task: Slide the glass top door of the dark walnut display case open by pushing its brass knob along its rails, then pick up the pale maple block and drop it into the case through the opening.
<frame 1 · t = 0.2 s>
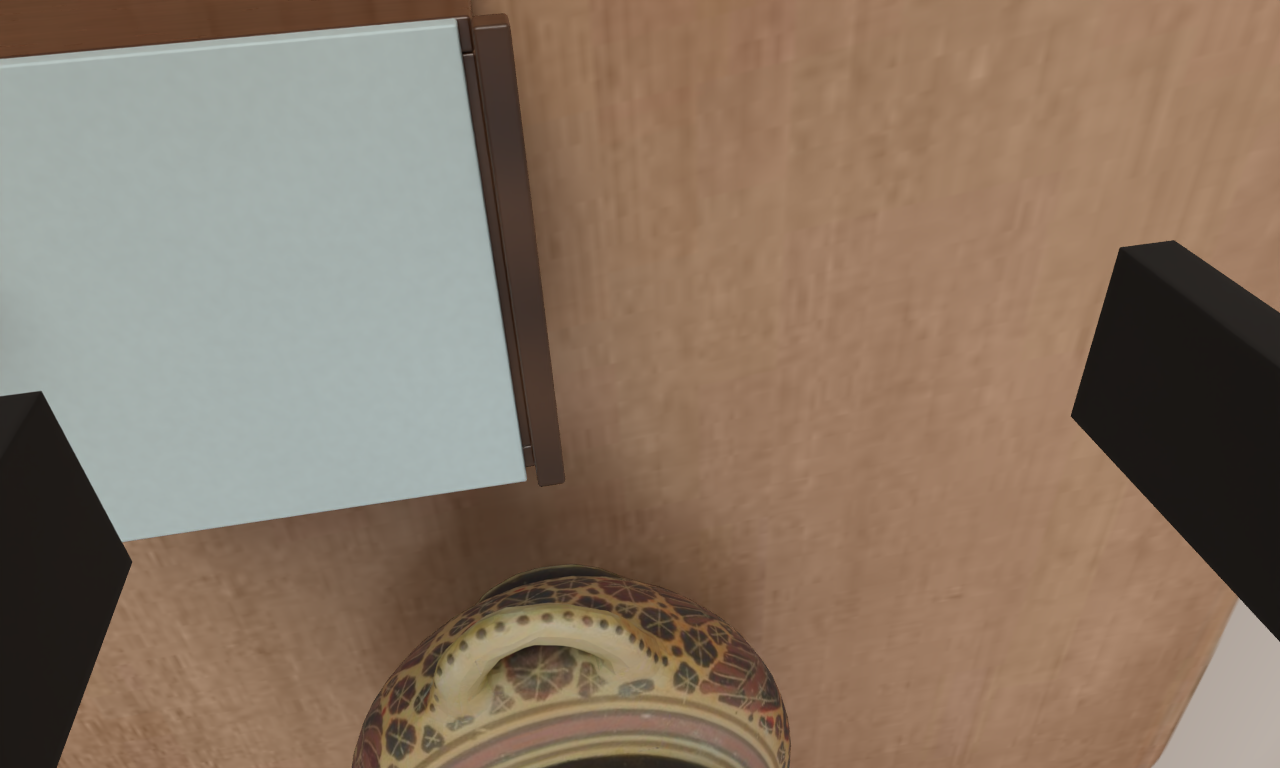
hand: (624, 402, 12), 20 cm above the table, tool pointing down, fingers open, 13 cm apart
glass door: (192, 354, 21), point 10 cm above the table, slide at 0.0 cm
ceramic bowl: (558, 625, 44), on the table
display case: (258, 187, 29), on the table
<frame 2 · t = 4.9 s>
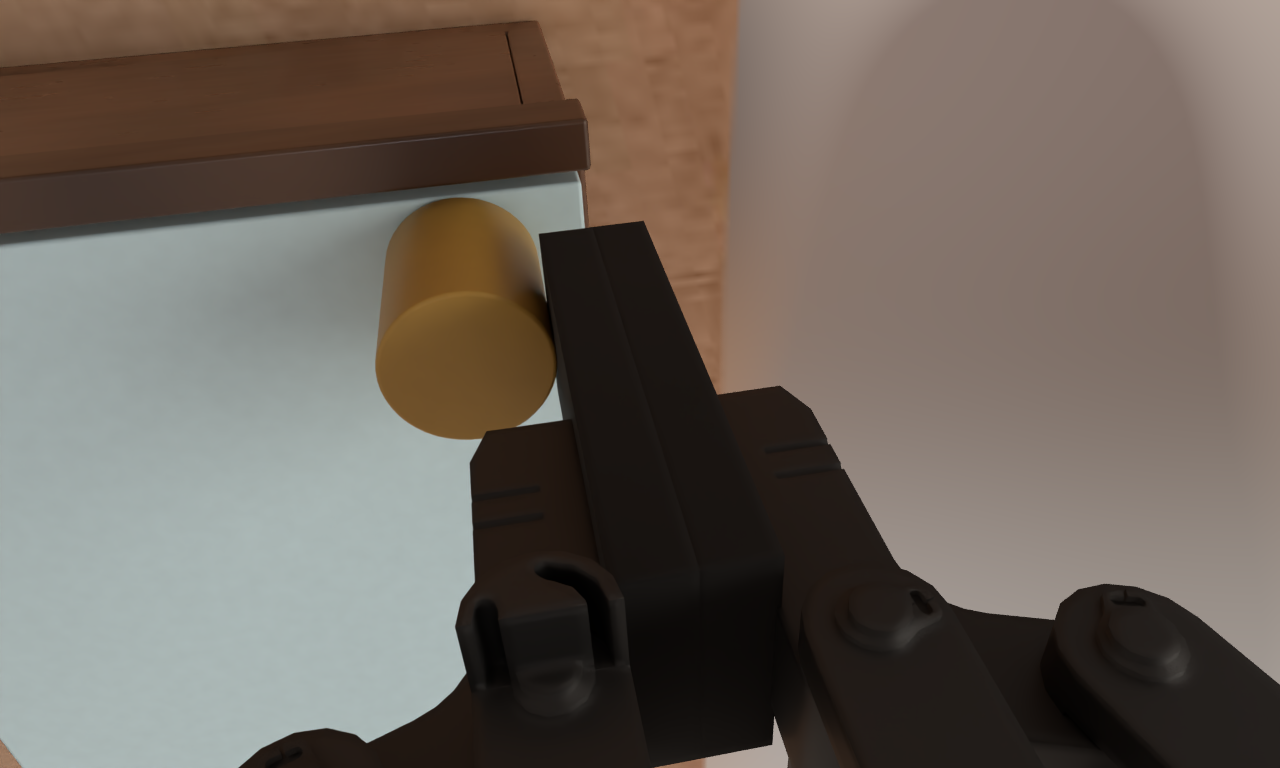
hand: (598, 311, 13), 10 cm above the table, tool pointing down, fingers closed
glass door: (266, 619, 17), point 10 cm above the table, slide at 0.1 cm, touching gripper
display case: (326, 332, 25), on the table
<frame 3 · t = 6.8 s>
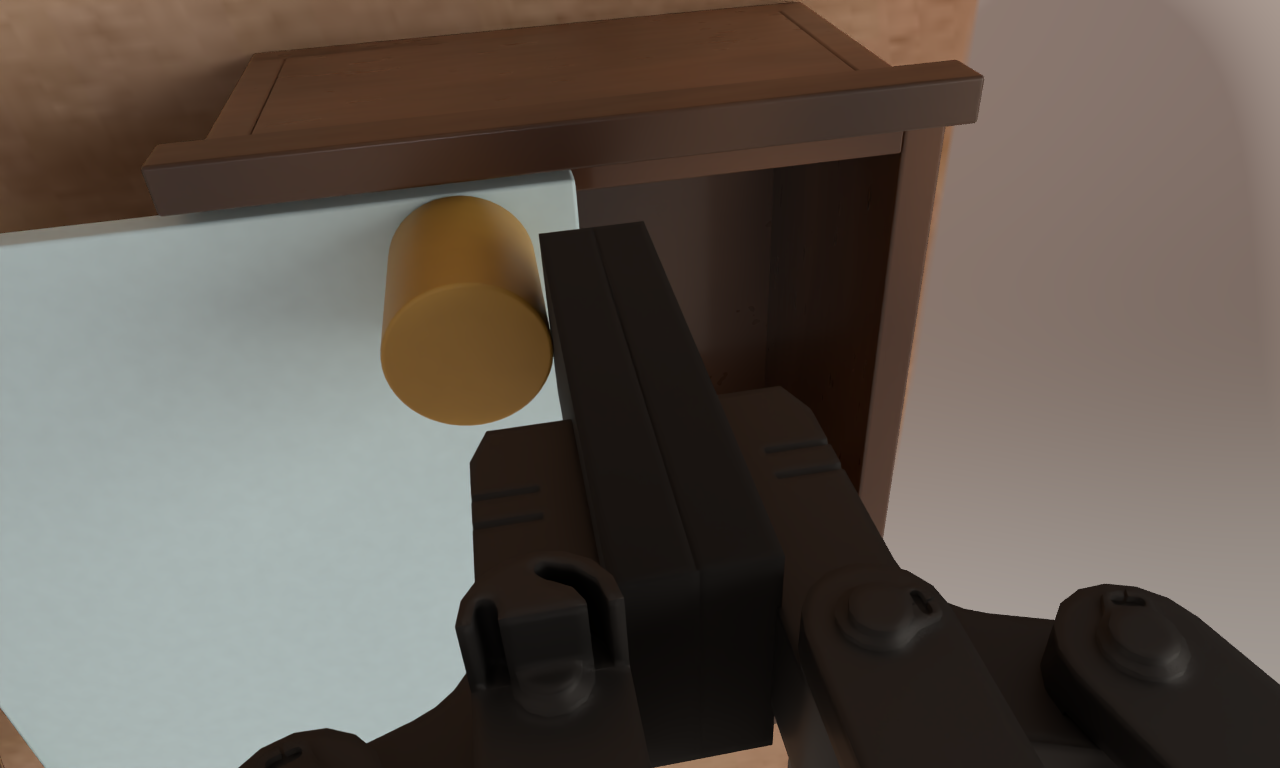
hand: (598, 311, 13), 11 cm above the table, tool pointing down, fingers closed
glass door: (274, 605, 17), point 10 cm above the table, slide at 6.7 cm, touching ceramic bowl, gripper
display case: (566, 300, 26), on the table
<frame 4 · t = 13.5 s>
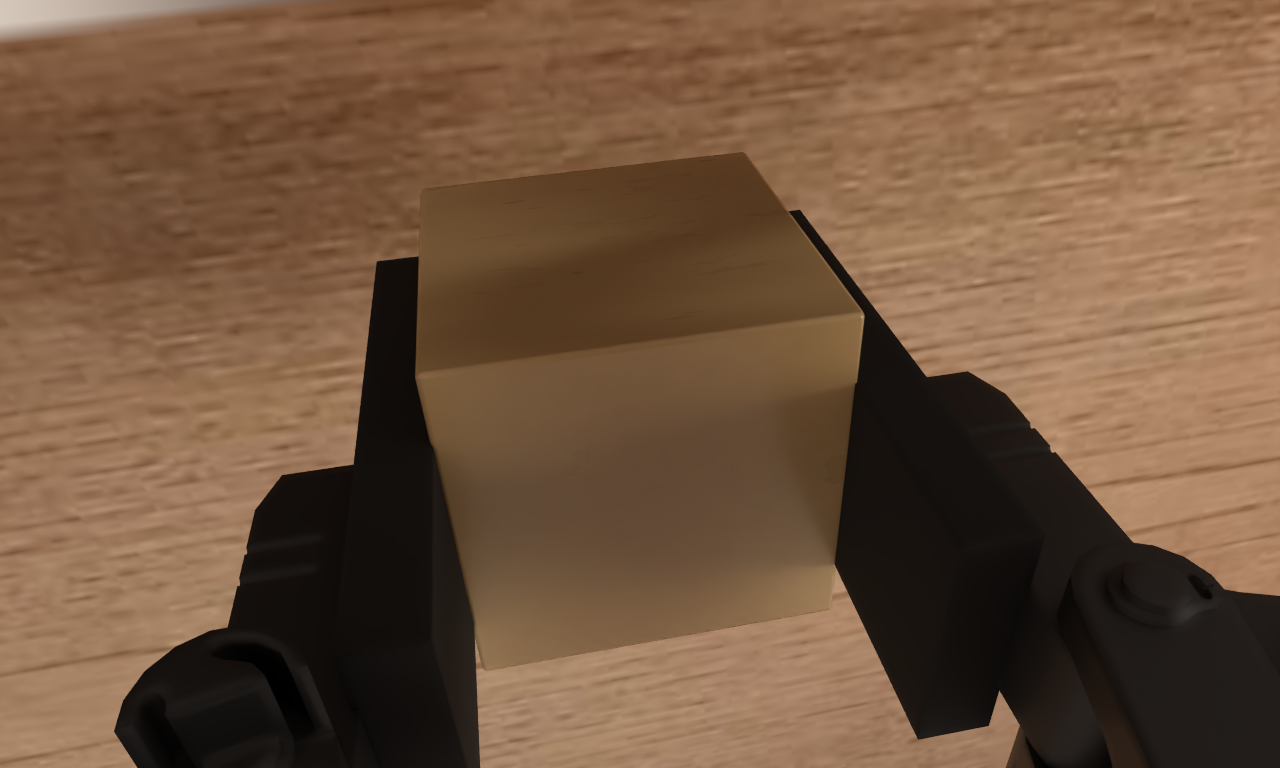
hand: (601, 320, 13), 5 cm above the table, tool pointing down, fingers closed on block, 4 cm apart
block: (598, 309, 14), point 5 cm above the table, touching gripper
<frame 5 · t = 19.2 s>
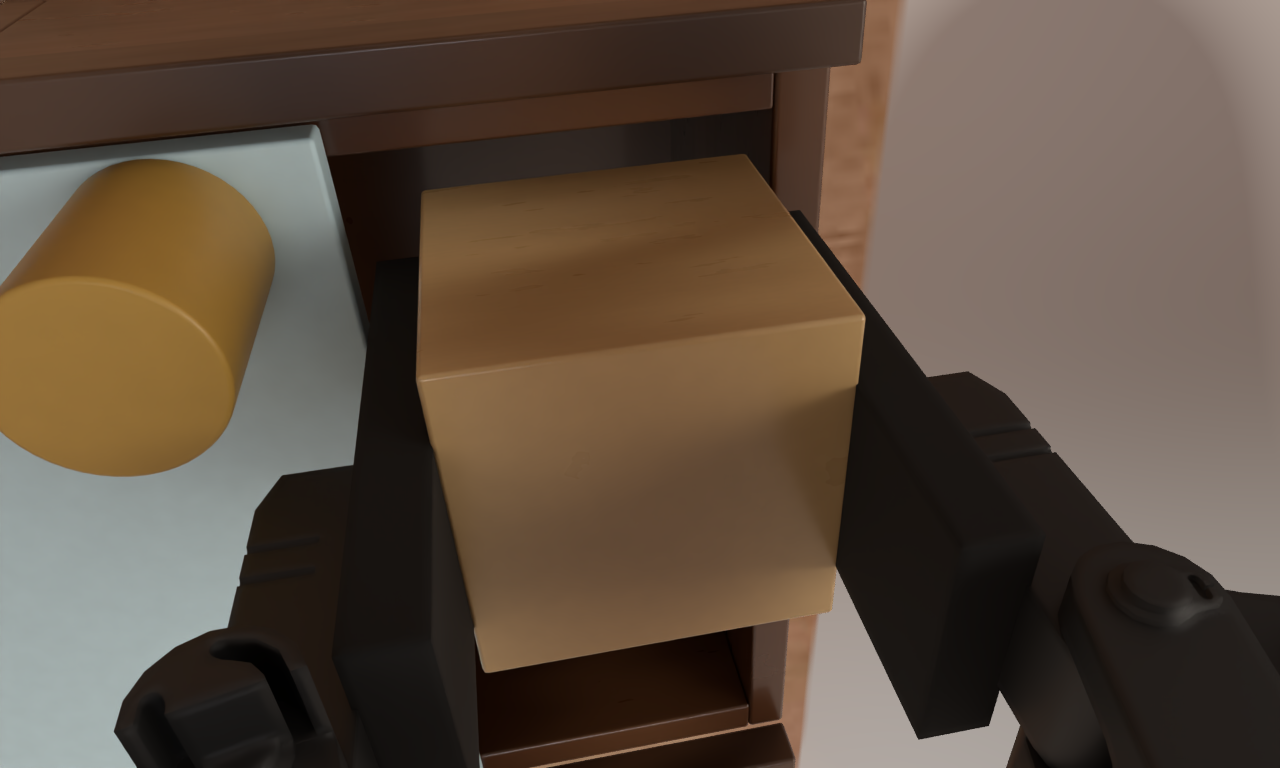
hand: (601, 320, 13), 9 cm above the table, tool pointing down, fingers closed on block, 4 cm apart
block: (598, 310, 14), point 8 cm above the table, touching gripper
display case: (437, 299, 22), on the table
when the fingers open (10 cm above the table, at t = 25.3 s): block drops 9 cm, resting on display case.
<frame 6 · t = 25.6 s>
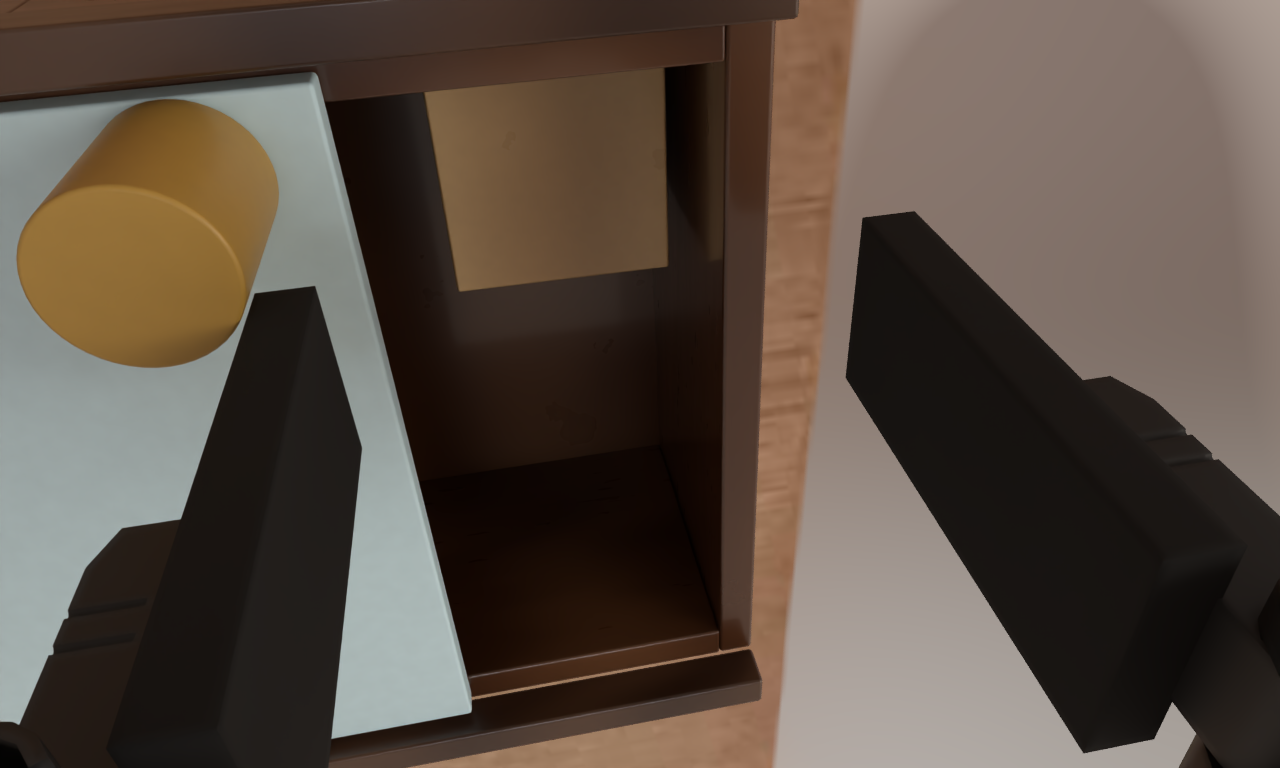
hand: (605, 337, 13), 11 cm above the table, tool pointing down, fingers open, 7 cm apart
block: (534, 105, 21), point 1 cm above the table, touching display case
glass door: (8, 587, 15), point 10 cm above the table, slide at 6.8 cm, touching ceramic bowl, gripper
display case: (429, 258, 24), on the table
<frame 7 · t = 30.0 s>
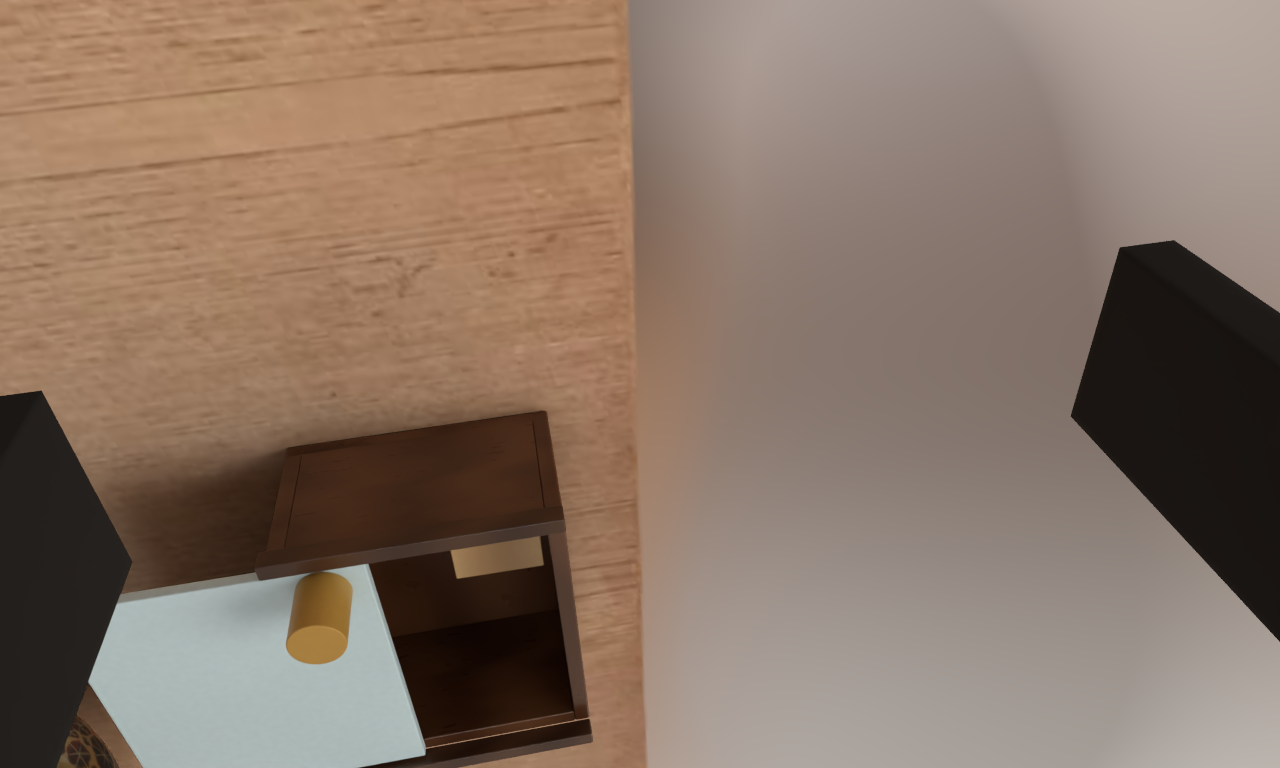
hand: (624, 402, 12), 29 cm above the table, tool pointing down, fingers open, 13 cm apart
block: (490, 482, 48), point 1 cm above the table, touching display case
glass door: (253, 715, 42), point 10 cm above the table, slide at 8.7 cm, touching ceramic bowl
display case: (444, 534, 51), on the table
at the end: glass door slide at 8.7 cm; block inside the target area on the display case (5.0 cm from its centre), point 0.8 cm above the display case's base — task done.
